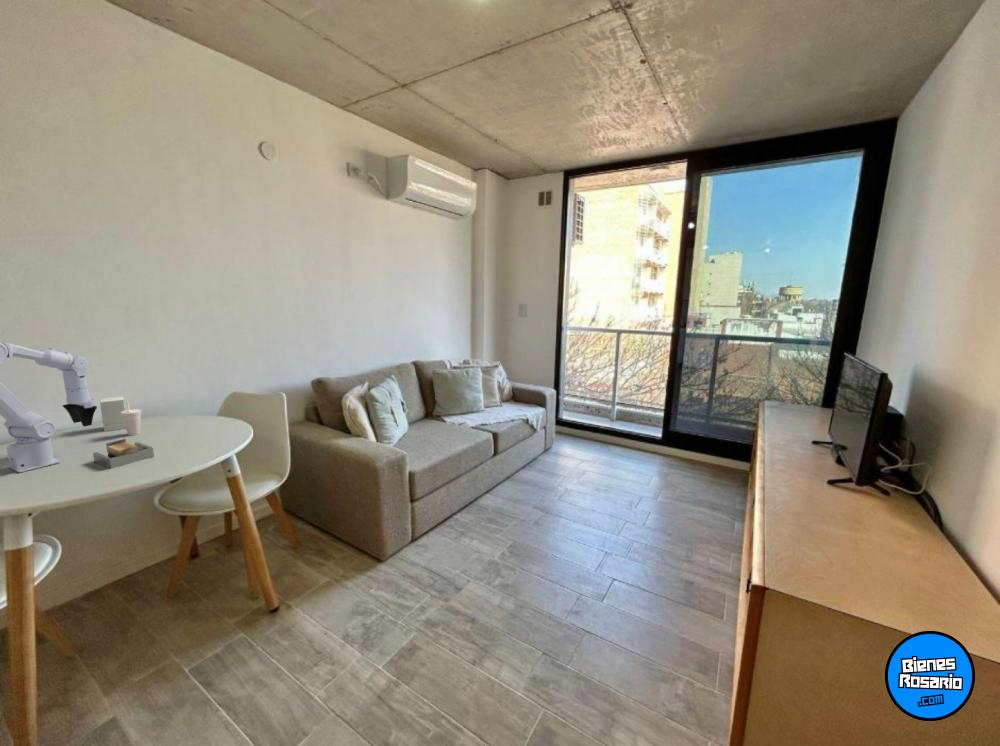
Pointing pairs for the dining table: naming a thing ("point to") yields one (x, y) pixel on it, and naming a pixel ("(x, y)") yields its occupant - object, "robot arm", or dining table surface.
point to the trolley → (120, 448)
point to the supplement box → (112, 413)
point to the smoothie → (132, 420)
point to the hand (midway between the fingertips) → (82, 423)
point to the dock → (125, 457)
